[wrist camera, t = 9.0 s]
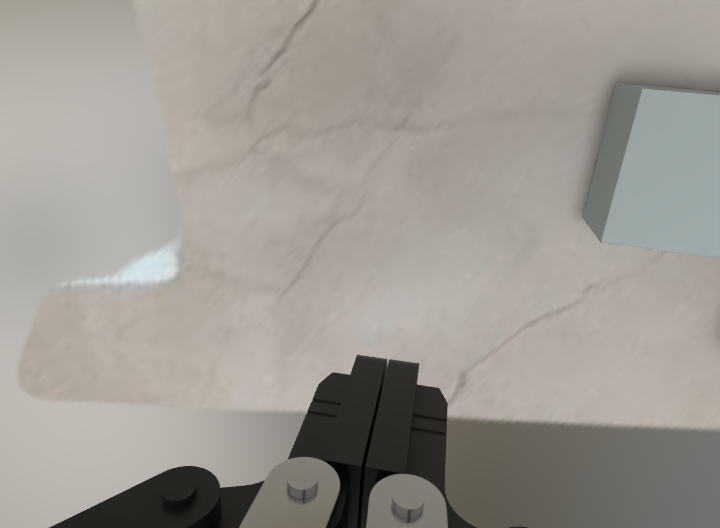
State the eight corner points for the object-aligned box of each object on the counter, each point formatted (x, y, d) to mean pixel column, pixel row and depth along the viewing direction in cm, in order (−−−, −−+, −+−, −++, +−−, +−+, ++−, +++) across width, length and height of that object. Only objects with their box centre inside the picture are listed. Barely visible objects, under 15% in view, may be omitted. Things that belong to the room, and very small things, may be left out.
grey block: (614, 82, 30) (642, 88, 26) (805, 99, 29) (870, 108, 25) (581, 215, 33) (600, 242, 29) (752, 236, 32) (800, 267, 28)
